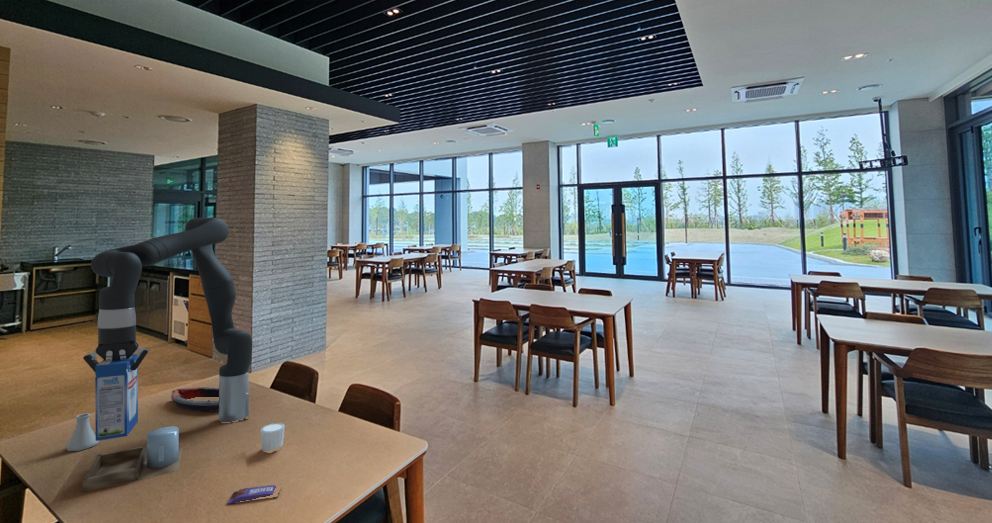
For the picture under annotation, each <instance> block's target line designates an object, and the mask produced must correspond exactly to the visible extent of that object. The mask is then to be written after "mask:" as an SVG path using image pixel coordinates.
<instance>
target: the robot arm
mask: <svg viewBox="0 0 992 523" xmlns="http://www.w3.org/2000/svg"><path fill="white" fill-rule="evenodd" d="M228 226H229V225H228V224H227V222H226V221H225V220H223V219H222V218H219V217H211V216H210V217H194V218H190V219H189V220H188V221H187V222H186V223H185V230H184V231H180V232H175V233H170V234H169V233H168V234H165V235H160V236H156V237H153V238H149V239H147V240H143V241H140V242H138V243H135V244H131V245H126V246H125V245H124V246H120V247H116V248H111V249H107V250H104V251H102V252H100V253H98V254H97V255H94V257H93V258H92V260H91V261H90V262H91V263H90V268H91V270H92V272H93V273H94V274H96V275H97V276H100V277H104V278H105V277H106V278H112V279H111V283H110V285H109V286H105V287H102V288H101V289H100V290H99V295H98V314H97V323H96V324H97V340H98V341H97V347H96V348H95V350H94V351H92V352H89V353H86V354H85V355H84V356H83V357H82V358H83V361H85V363H86V364H87V365H88V366H89V367H90V368H91V369H92V370H93V372H94V373H95V365H97V364H98V363H100V362H99V361H98V360H97V359H98V356H99V357H100V358H101V359H103V360H105V361H106V362H111V361H116V360H127V359H129V358H130V357H131V356H132V354H135V352H136V354H137V355H138V359H137V360H136V362H135V363H134V364H133V366H132V367H131V370H132V371H133V370H136V369H137V368H138V369H139V366H140V364H141V363H142V362H143V360H144V359H145V357H146V356H147V355H148V353H149V352H150V348H147V347H146V348H144V347H141V346H139V344H138V342H137V316H136V314H137V313H136V308H135V307H136V306H135V302H136V301H135V293H136V290H137V287H138V284H139V281H140V277H141V274H142V271H143V270H142V269H143V267H149V266H152V265H156V264H158V263H162V262H163V261H166V260H169V259H170V258H173V257H175V256H178V255H181V254H183V253H186V252H189V251H191V252H192V256H193V258H194V261H195V264H196V268H197V272H198V274H199V278H200V283H201V286H202V290H203V295H204V299H205V302H206V305H207V310H208V315H209V319H210V322H211V330H212V338H213V344H214V348H215V349H216V351H217V352H218V353H219V354H223V355H226V356H227V359H226V360H227V361H226V363H225V364H223V365H221V366H220V367H219V370H218V371H219V372H218V376H219V377H218V382H219V383H218V388H219V410H218V422H219V421H221V422H232V421H236V420H239V419H242V418H244V417H247V416H249V415H250V391H249V389H250V388H249V387H250V386H249V385H250V384H249V383H250V382H249V380H250V379H249V378H250V374H249V373H250V372H249V371H250V367H251V366H250V365H252V356H253V339H252V336H251V334H250V333H249V331H245V330H239V329H236V328H235V324H234V320H233V314H232V313H233V310H234V309H233V308H234V306H235V304H236V303H235V301H236V297H237V292H236V288H235V284H234V279H233V277H232V275H231V273H230V272H229V271H228V270H227V268H225V266H224V264H222V263H221V262H220V260H219V259H218V258H217V256H216V254H215V252H214V248H213V245H216V244H217V245H218V244H220V243H223V242H224V241H226V240H227V238H228V236H229V232H230V229H229V227H228ZM249 417H250V416H249Z"/></svg>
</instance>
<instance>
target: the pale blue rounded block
mask: <svg viewBox="0 0 992 523" xmlns="http://www.w3.org/2000/svg"><path fill="white" fill-rule="evenodd" d="M179 432H180V431H179V427H177V426H165V427H159V428H157V429H153V430H151V431H149V432H148V433H147V434H146V446H147V468H149V469H159V468H164V467H167V466H170V465H172V464H174V463H175V462H177V461H178V456H179V448H180V447H179V446H180V445H179V442H180V441H179V440H180V439H179V438H180V437H179Z"/></svg>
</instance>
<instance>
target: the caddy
mask: <svg viewBox="0 0 992 523" xmlns="http://www.w3.org/2000/svg"><path fill="white" fill-rule="evenodd" d="M183 450H184V447H179V456H178V461H177V462H175V463H174V464H172V465H170V466H167V467H164V468H159V469H149V468H147V445H142V446H137V447H134V448H133V447H132V448H126V449H122V450H117V451H111V452H106V453H99V454H97V456H96V458H95V459H94V461H93V462H92V465H91V466H90V467H89V469H88V471H87V472H86V474H85V476H84V477H83V478H82V493H88V492H92V491H95V490H101V489H105V488H109V487H112V486H117V485H118V486H119V485H123V484H126V483H131V482H134V481H135V482H136V481H140V480H143V479H149V478H152V477H156V476H162V475H166V474H169V473H176V472H179V467H180V463H181V460H182V455H183Z"/></svg>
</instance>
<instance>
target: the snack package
mask: <svg viewBox="0 0 992 523" xmlns="http://www.w3.org/2000/svg"><path fill="white" fill-rule="evenodd" d="M276 486H277V485H275V484H273V485H272V484H271V485H262V486H261V485H260V486H256V487H255V486H253V487H252V486H251V487H244V488H242V489H241V488H240V489H239V490H235V491H233V493H232V494H231V496H230V497H229V499H228V501H227V504H235V503H234V502H240V501H246V500H252V499H256V498H259V497H266V496H270V495H273V493H274V490H275V488H276ZM240 503H241V502H240Z"/></svg>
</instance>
